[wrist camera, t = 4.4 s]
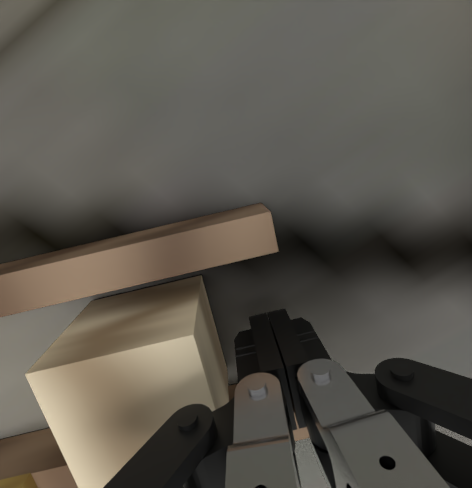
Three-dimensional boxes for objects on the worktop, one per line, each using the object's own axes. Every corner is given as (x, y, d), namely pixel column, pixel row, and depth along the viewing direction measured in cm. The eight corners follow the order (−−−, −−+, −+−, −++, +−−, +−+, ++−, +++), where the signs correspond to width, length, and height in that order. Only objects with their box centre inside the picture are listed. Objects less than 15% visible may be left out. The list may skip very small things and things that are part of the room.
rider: (201, 275, 14) (193, 334, 9) (227, 370, 15) (232, 466, 10) (91, 301, 14) (24, 374, 9) (126, 393, 15) (84, 501, 10)
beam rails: (260, 201, 13) (274, 213, 10) (300, 395, 16) (321, 453, 13) (-231, 317, 13) (-370, 365, 10) (-112, 492, 16) (-193, 574, 13)
